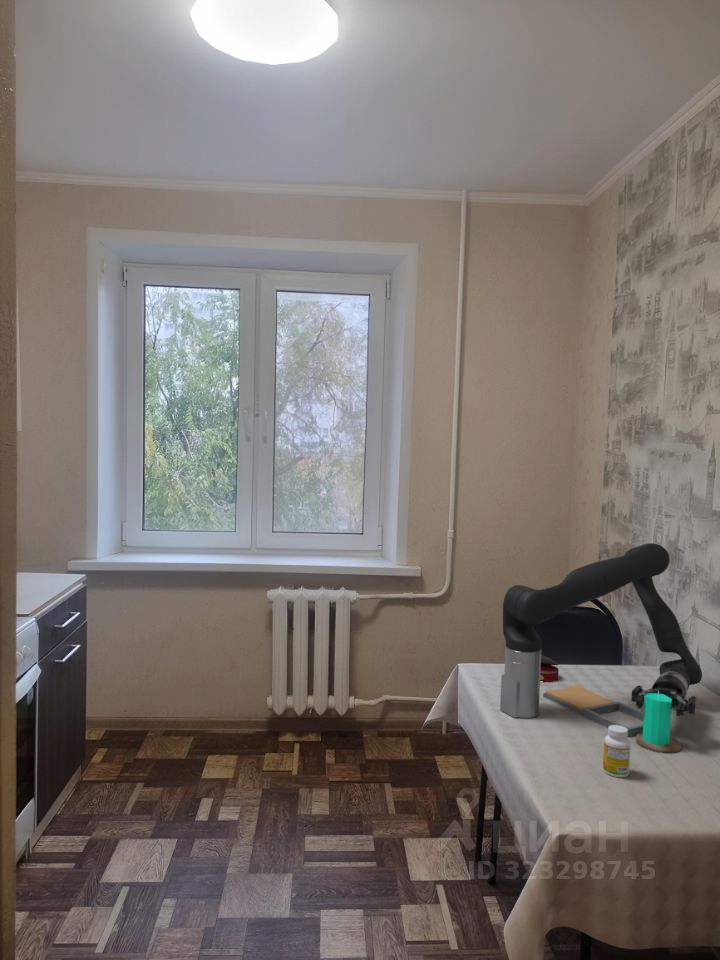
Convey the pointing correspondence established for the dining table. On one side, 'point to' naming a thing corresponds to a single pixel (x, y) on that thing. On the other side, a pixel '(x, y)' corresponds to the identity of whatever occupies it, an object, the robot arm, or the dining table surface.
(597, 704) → the case
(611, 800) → the dining table surface
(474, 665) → the dining table surface
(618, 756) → the supplement bottle
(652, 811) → the dining table surface
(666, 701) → the candle
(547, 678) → the canned food
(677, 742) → the coaster
